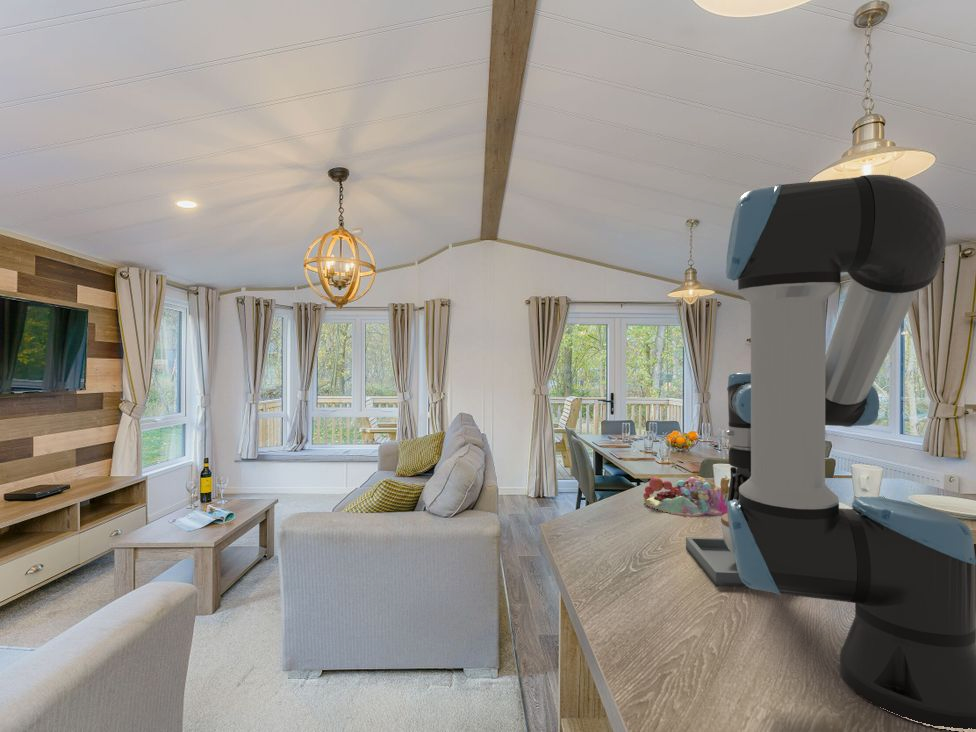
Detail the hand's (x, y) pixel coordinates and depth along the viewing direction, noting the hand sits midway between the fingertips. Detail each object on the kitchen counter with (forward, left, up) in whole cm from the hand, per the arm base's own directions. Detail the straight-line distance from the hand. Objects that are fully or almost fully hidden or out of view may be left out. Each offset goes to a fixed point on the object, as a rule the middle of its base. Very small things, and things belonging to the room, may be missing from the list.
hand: (749, 554), depth 104 cm
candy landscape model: (+47, -2, -3) cm, 47 cm away
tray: (0, 0, -2) cm, 2 cm away
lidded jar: (0, 0, -1) cm, 1 cm away
